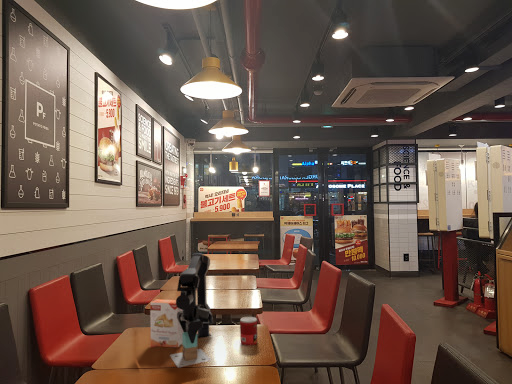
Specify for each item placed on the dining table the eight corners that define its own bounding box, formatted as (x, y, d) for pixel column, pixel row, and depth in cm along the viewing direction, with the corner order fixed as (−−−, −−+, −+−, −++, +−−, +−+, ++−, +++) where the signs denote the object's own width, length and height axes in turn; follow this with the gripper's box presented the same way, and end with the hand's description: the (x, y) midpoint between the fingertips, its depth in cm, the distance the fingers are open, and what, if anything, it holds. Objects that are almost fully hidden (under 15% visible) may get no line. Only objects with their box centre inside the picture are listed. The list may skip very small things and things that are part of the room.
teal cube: (182, 344, 154) (182, 332, 154) (193, 342, 156) (193, 330, 157) (185, 348, 150) (185, 336, 150) (197, 346, 152) (197, 334, 152)
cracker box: (150, 347, 167) (149, 301, 168) (156, 342, 173) (156, 298, 174) (178, 350, 164) (177, 303, 165) (183, 345, 170) (183, 299, 171)
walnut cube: (182, 356, 154) (182, 344, 154) (193, 354, 156) (193, 342, 156) (185, 360, 150) (185, 348, 150) (197, 358, 152) (197, 346, 152)
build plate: (169, 357, 156) (169, 354, 156) (200, 350, 162) (200, 347, 162) (177, 370, 143) (177, 366, 144) (211, 362, 150) (211, 359, 150)
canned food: (257, 345, 167) (256, 321, 167) (240, 345, 167) (239, 321, 168) (257, 339, 175) (257, 316, 175) (241, 339, 175) (240, 316, 175)
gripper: (214, 305, 149) (215, 343, 149) (200, 295, 166) (201, 330, 165) (188, 309, 144) (188, 349, 143) (176, 298, 161) (176, 334, 160)
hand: (189, 340), depth 153 cm, fingers open, 8 cm apart
